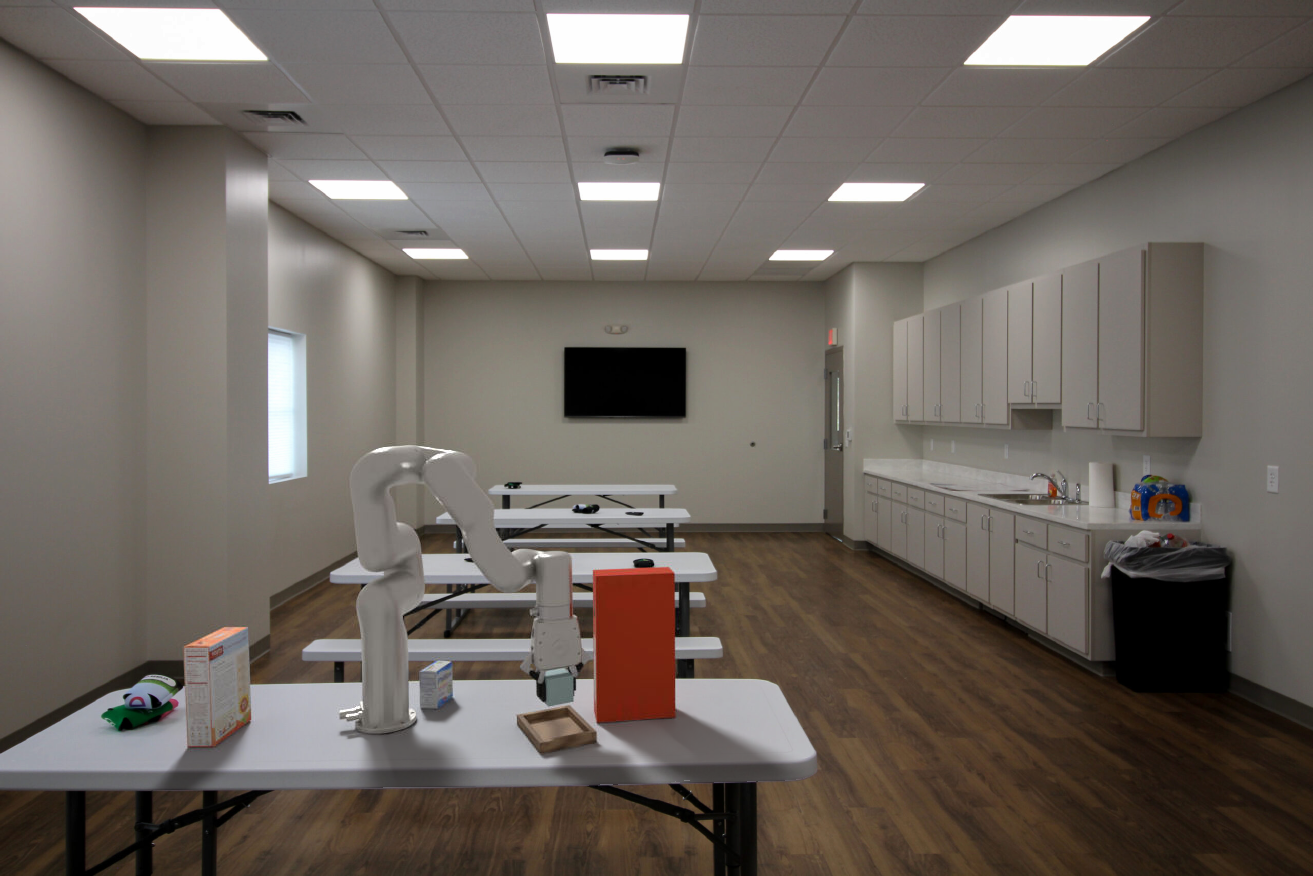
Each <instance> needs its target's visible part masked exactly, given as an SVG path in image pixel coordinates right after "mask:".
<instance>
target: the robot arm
mask: <svg viewBox="0 0 1313 876" xmlns="http://www.w3.org/2000/svg"><path fill="white" fill-rule="evenodd" d="M476 478H477V467H476V463H475V462H474V460H473V459H472V458H471V457H470V456H469V455H468V454H466V453H464V452H461V451H455V450H446V449H440V448H434V447H427V446H421V445H420V446H419V445H412V444H411V445H409V444H408V445H399V446H397V445H395V446H386V447H380V448H377V449H374V450H372V451H370V452H367V453H366V454H365V455H363V456H362V457H361V458H359V460H358V461H356V462H355V464H354V466H353V468H352V470H351V472H350V477H349V490H350V492H349V493H350V498H351V502H352V508H353V510H352V511H353V523H354V524H353V525H354V531H355V540H356V550H357V551H356V552H357V558H358V561H359V563H360V566H361V567H362V568H363V569H364V570H366V571H367V572H370V573H380V572H383V576H381V577H377V578H375V579H373V580H372V581H369V582H368V583H367V584H366V585H364V587H362V589H361V590H360V591H359V593H358V595H357V598H356V603H355V605H356V607H355V609H356V616H357V619H358V624H359V630H360V644H361V647H360V648H361V649H360V650H361V651H360V652H361V689H362V690H361V692H362V697H361V698H362V700H361V701H359V705H357V706H355V707H354V708H350V709H349V708H346V709H341V710H339V713H338V715H339V720H346V722H353V721H354V726H355V727H354V728H355V729H356V730H357V731H359V732H361V733H364V734H370V735H371V734H372V735H373V734H374V735H375V734H376V735H379V734H388V733H394V732H397V731H401V730H405V729H407V728H408V727H410V726H412V725H413V724H414V723H415V722H416V721H417V717H418V716H417V712H416V710H414V709H413V708H410V689H409V688H410V687H409V683H410V681H409V679H410V678H409V639H408V638H409V637H408V632H407V627H406V626H405V625H406V624H405V622H404V617H403V616H405V614H407V613H410V612H411V611H412V610H414V609H416V608H417V607H418V606H420V605H421V604H420V603H422V601H423V598H424V595H425V591H426V583H425V572H424V564H423V563H424V562H423V555H422V544H421V541H420V537H419V536H418V533H417V532H416V531H415V529H413V527H412V526H410V525H408V524H407V523H404V522H398V521H397V512H396V505H395V502H394V499H393V497H392V495H391V494H390V489H392V487H396V486H403V485H409V484H419V485H425V486H426V487H427V489H428V490H429V491H430V492H431V494H432V495H433V497H434V498H435V499H436V500H437V501H438V502H439V504H440V505H441V506H442V507H443V509H444V510H445V511H446V513H447V514H448V515H449V517H450V518H451V519H452V520H453V521H454V523H455V524H456V525H457V527H458V528H459V529H460V531H461V535H462V539H463V542H464V545H465V547H466V549H467V553H468V555H469V556H470V558H471V560H472V561H473V563H474V565H475V566H476V568H477V569H478V570H479V571H480V572H481V574H482V575H483V576H484V577H485V579H486V580H487V581H488V582H489V584H490V585H492V586H493V587H494V588H495V589H496V590H498V591H499V592H502V593H505V594H513V593H516V592H519V591H520V590H522V589H523V588H525V587H526V586H528V585H530V584H533V583H535V591H536V592H535V594H536V596H535V598H536V603H535V605H534V607H533V608H530V609H529V615H530V616H535V617H534V618H533V623H532V629H531V635H530V647H529V648H530V649H529V650H530V651H529V653H528V655H527V656H526V657H525V659H524V660H523V661H522V662H521V664H520V666H519V668H520V669H521V670H522V671H523V672H524V673H526V674H528V675H529V676H530V677H531V678H532V679H533V680H534V681H535V683H536V684H535V687H536V689H535V690H536V697H537V698H538V699H539V700H540V701H541V703H544V702H546V683H545V682H544V677H545V674H546V671H549V670H555V669H561V668H566V670H567V671H568V672H570V673H571V674H572V675H573V693H574V694H575V691H577V677H578V675H579V673H580V672H581V670H582V669H583V668H584V666H585V665H586V664H587V663H588V661H589V660H590V659H591V655H590V654H589V653H588V652H587V651H586V650H585V649H584V648H583V647H582V639H581V638H582V637H581V631H580V624H579V619H578V616H577V615H575V614H574V606H573V605H574V603H573V602H574V600H573V598H574V597H573V589H574V588H573V559H572V556H571V554H570V552H567V551H564V550H563V551H561V550H549V551H542V550H536V549H530V548H519V549H515V550H514V551H512V552H511V550H510V549H509V548H508V547H507V546H506V544H505V543H504V542H503V541H502V539H501V538H500V537H501V536H500V535H499V533H498V532H497V530H496V526H495V521H494V520H495V519H494V517H495V505H494V503H493V502H492V500H491V499H490V498H489V496H488V495H487V494H486V493H485V491H483V489H482V488H481V487H480V486H479V485H478V483H477V482H476V481H475V480H476ZM531 665H534V667H535V670H534V669H533V668H531Z"/></svg>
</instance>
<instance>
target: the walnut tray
mask: <svg viewBox="0 0 1313 876" xmlns="http://www.w3.org/2000/svg"><path fill="white" fill-rule="evenodd" d="M516 726H517V727H518V728H519V730H521V732H522V734H524V736H525V737H526V738H527V740H528V742H530V744H531V745H532V746H533V748H534V749H535V750H536V751H537V752H538V753H539V755H544V754H548V753H552V752H558V751H561V750H562V751H563V750H567V749H572V748H577V747H581V746H586V745H591V744H595V743H597V742H598V741H597V740H598V737H597V735H598V734H597V731H596V729H595V728H594V727H592V725H591V724H589V722H587V721H586V719H584V718H583V717H582V715H580V713H578V712H577V711H576V710H575V709H574V708H573V707H572V705H571V704H570V705H562V706H557V707H556V706H555V707H552V708H545V709H541V710H535V711H529V712H523V713H519V714H516Z"/></svg>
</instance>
